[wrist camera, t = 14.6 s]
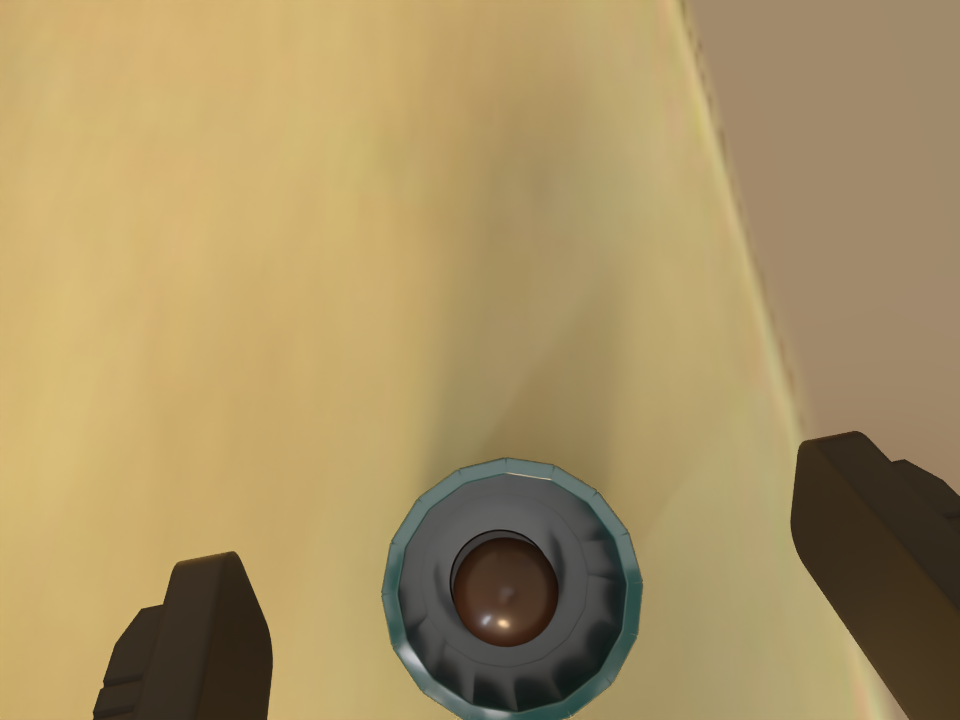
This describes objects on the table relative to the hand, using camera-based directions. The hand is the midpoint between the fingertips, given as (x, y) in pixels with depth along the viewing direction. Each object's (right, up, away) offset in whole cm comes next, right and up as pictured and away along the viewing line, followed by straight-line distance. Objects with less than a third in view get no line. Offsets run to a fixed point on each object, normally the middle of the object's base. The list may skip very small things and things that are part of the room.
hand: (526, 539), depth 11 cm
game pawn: (0, -6, +20) cm, 21 cm away
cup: (0, -6, +20) cm, 21 cm away
